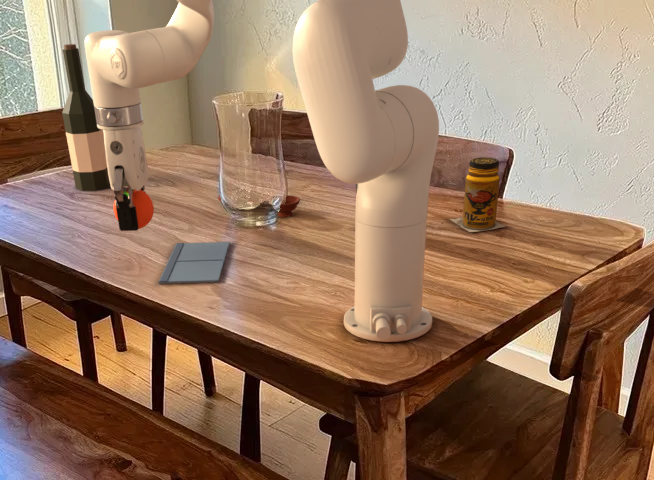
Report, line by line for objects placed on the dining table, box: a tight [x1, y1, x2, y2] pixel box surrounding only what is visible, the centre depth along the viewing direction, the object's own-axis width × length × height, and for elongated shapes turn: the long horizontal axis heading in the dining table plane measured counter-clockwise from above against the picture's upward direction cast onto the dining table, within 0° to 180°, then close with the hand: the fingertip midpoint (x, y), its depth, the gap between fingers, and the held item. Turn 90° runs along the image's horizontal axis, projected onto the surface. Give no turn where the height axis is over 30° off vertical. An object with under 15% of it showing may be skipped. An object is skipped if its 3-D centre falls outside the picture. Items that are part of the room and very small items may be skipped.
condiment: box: [449, 156, 506, 233], centre depth 146 cm, size 7×8×12 cm
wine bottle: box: [61, 43, 111, 192], centre depth 177 cm, size 8×8×30 cm
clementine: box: [113, 189, 155, 230], centre depth 136 cm, size 8×7×7 cm
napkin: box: [158, 241, 231, 285], centre depth 138 cm, size 19×10×1 cm, turn 177°
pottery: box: [217, 194, 301, 218], centre depth 162 cm, size 12×20×4 cm, turn 48°
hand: (134, 221), depth 137 cm, fingers closed on clementine, 8 cm apart
